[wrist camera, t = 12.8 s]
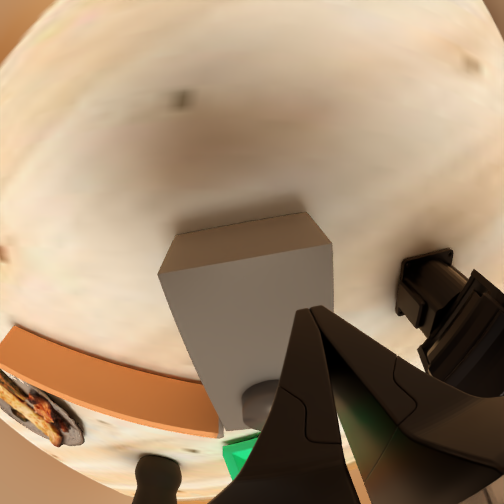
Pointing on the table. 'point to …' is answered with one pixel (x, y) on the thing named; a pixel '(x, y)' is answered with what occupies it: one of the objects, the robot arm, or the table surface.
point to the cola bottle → (156, 481)
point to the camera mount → (237, 455)
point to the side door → (110, 386)
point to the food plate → (38, 412)
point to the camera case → (245, 305)
